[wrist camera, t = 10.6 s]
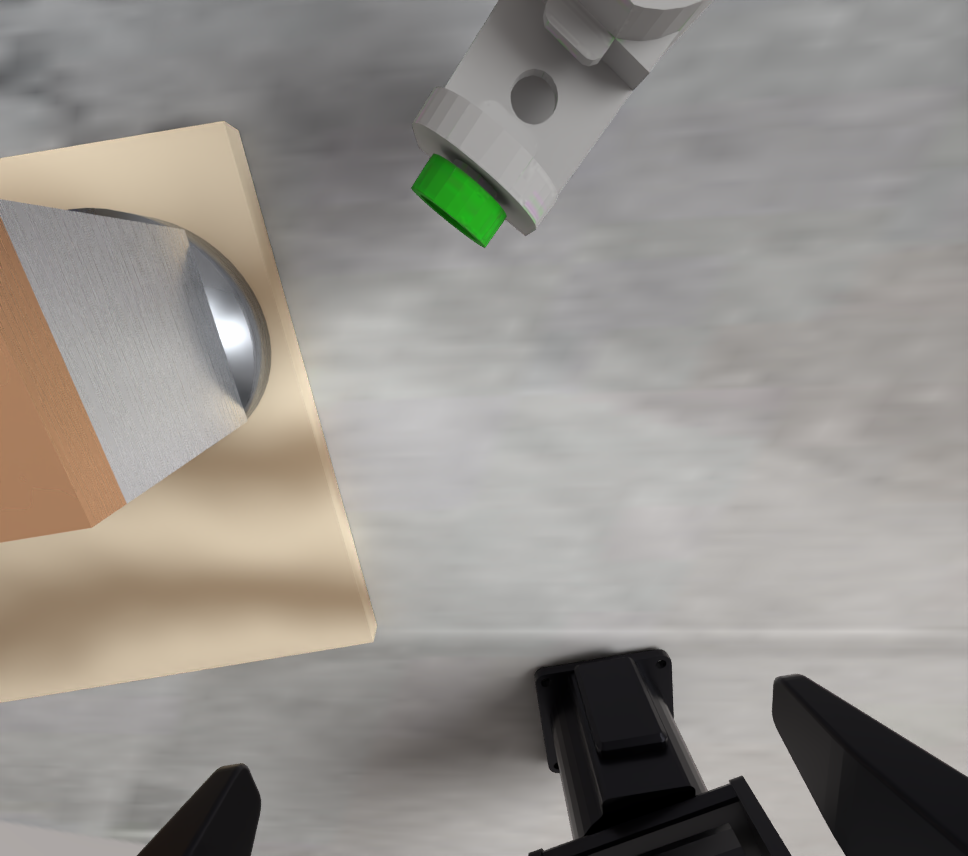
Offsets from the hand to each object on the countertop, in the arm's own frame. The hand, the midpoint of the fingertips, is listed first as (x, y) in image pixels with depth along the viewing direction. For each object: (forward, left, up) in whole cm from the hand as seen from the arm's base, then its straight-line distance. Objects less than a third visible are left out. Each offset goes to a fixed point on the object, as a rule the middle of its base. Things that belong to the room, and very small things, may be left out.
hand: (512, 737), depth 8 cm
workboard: (+3, +14, -12) cm, 19 cm away
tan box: (+7, +10, -10) cm, 16 cm away
